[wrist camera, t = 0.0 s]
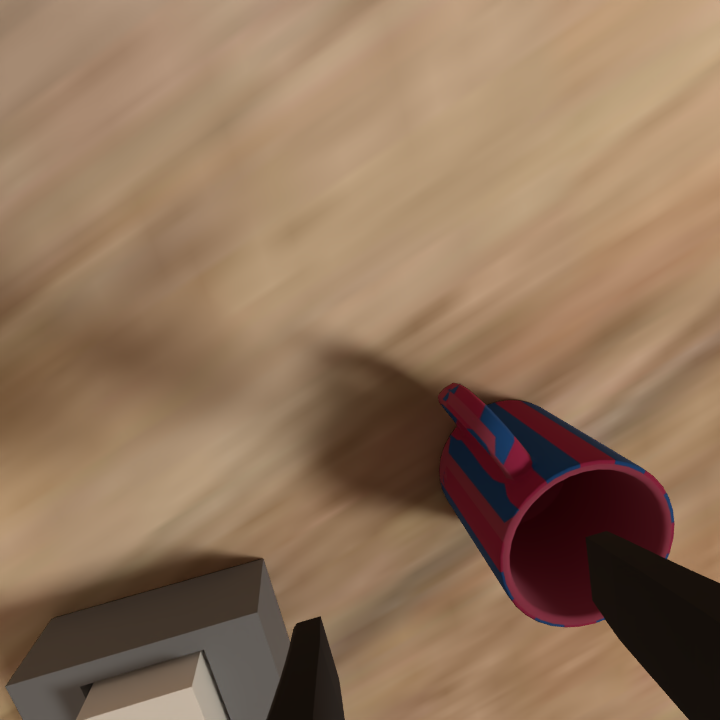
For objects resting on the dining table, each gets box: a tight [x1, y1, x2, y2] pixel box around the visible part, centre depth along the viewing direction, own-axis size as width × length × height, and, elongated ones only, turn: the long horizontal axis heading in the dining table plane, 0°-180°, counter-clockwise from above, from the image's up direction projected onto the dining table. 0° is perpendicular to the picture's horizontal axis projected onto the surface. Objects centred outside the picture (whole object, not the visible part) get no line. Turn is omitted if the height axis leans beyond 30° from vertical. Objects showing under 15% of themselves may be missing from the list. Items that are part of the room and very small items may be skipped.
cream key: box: [76, 650, 231, 720], centre depth 18 cm, size 4×4×2 cm
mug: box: [438, 383, 674, 627], centre depth 19 cm, size 7×10×7 cm
